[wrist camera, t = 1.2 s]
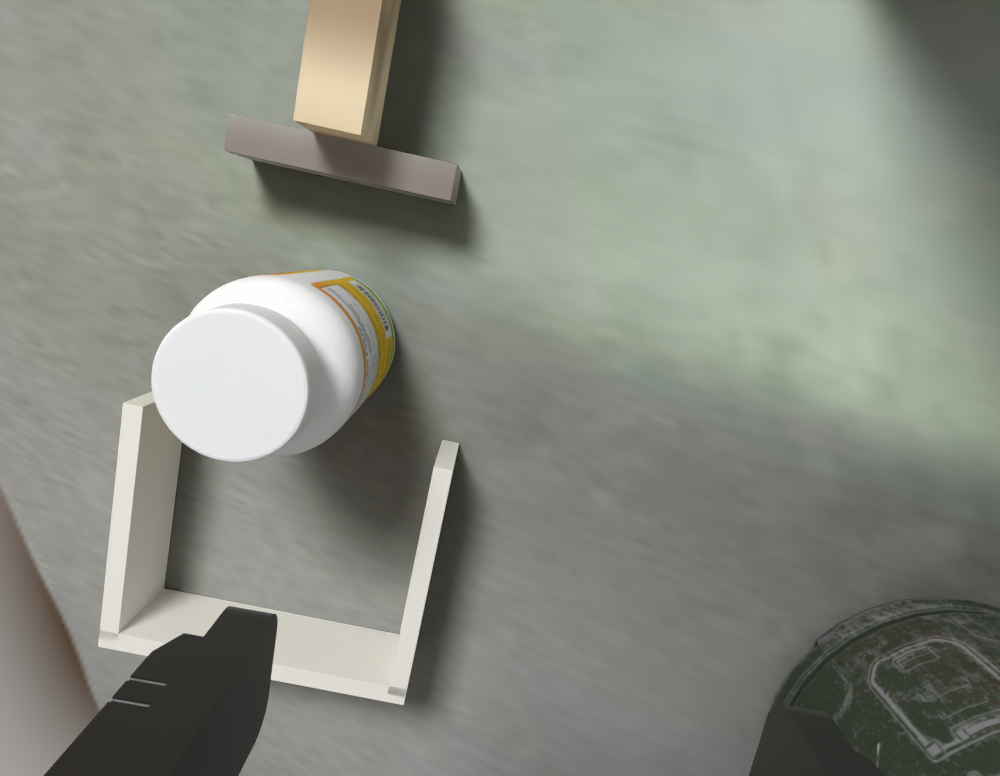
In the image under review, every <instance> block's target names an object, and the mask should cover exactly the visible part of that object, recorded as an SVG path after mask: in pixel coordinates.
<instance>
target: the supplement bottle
mask: <svg viewBox="0 0 1000 776" xmlns="http://www.w3.org/2000/svg"><path fill="white" fill-rule="evenodd" d="M394 352H395V333H394V327H393V323H392V320H391V317H390V314H389V312H388V310H387V308H386V306H385V305H384V303H383V302H382V300H381V299H380V298H379V296H378V295H377V294H376V293H375V292H374V291H373V290H372V289H371V288H370V287H369V286H367V285H366V284H365V283H363V282H362V281H360V280H359V279H357V278H355V277H353V276H350V275H348V274H345V273H342V272H338V271H333V270H308V271H298V272H288V273H277V274H265V275H257V276H251V277H246V278H243V279H239V280H235V281H233V282H230V283H227V284H225V285H223V286H221V287H219V288H217V289H216V290H214V291H213V292H211V293H210V294H209V295H207V296H206V297H205V298H204V299H203V300H202V301H201V302H200V303H199V304H198V305H197V306H196V307H195V308H194V309H193V311H192V312H191V314H190V315H189V317H187V318H186V319H184V320H183V321H181V322H180V323H178V324H177V325H176V326H175V327H173V329H172V330H171V331H170V332H169V333H168V334H167V335H166V337H165V338H164V340H163V341H162V343H161V344H160V346H159V348H158V351H157V353H156V356H155V359H154V362H153V368H152V391H153V396H154V400H155V403H156V406H157V409H158V411H159V413H160V415H161V417H162V419H163V421H164V422H165V424H166V425H167V426H168V428H169V429H170V430H171V431H172V433H173V434H174V435H175V436H176V437H177V438H178V439H179V440H180V441H181V442H183V443H184V444H185V445H187V446H188V447H190V448H191V449H193V450H195V451H196V452H198V453H200V454H202V455H205V456H207V457H210V458H212V459H216V460H220V461H227V462H247V461H253V460H257V459H261V458H264V457H266V456H268V457H281V456H289V455H294V454H298V453H302V452H305V451H307V450H310V449H312V448H314V447H316V446H318V445H320V444H321V443H323V442H325V441H326V440H327V439H329V438H330V437H331V436H332V435H333V434H335V433H336V432H337V431H338V430H339V429H340V428H341V427H342V426H343V425H344V424H345V423H346V422H347V421H348V419H349V418H350V417H351V416H352V415H353V414H354V413H355V412H356V410H357V409H358V408H359V407H360V406H361V405H362V404H363V403H364V402H365V400H366V399H367V398H368V397H369V396H370V395H371V394H372V393H373V392H374V391H375V390H376V389H377V387H378V386H379V385H380V384H381V382H382V381H383V379H384V378H385V376H386V374H387V373H388V371H389V368H390V366H391V363H392V361H393V357H394Z"/></svg>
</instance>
